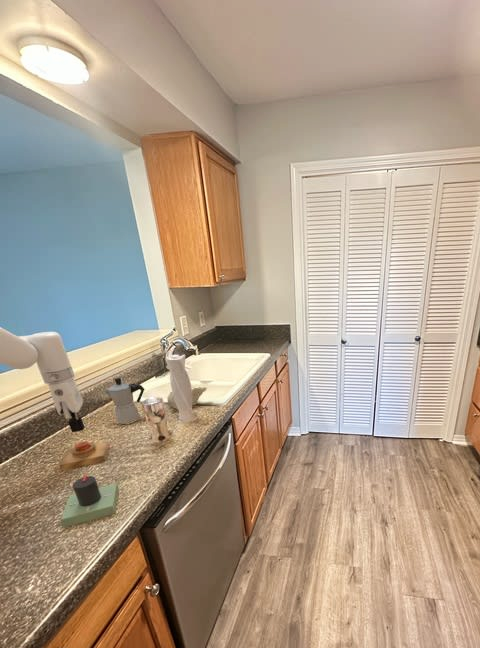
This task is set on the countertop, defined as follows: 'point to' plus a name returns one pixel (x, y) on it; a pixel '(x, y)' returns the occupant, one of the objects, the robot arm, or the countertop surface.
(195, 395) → the cheese
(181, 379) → the skyscraper
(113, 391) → the coffee maker
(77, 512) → the dial panel
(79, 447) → the dispense button
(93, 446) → the button block
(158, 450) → the countertop surface
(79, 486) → the dial
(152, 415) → the beer glass
